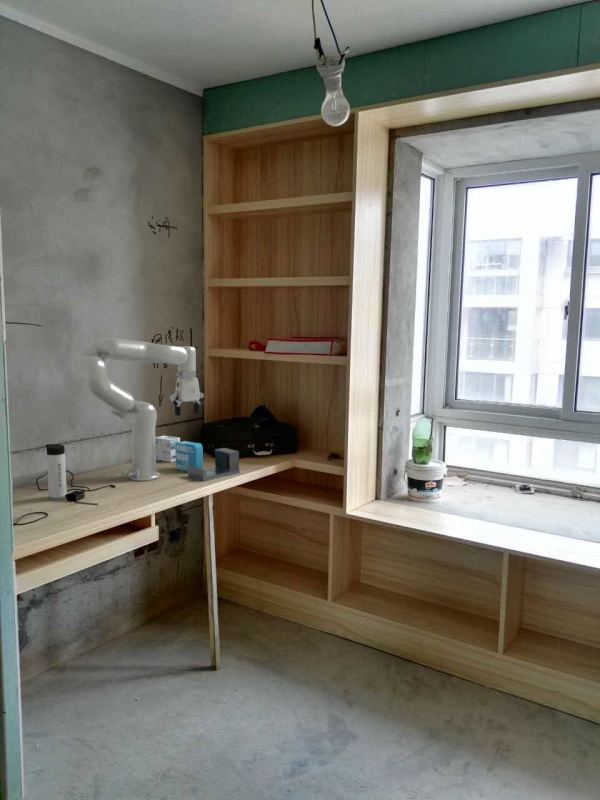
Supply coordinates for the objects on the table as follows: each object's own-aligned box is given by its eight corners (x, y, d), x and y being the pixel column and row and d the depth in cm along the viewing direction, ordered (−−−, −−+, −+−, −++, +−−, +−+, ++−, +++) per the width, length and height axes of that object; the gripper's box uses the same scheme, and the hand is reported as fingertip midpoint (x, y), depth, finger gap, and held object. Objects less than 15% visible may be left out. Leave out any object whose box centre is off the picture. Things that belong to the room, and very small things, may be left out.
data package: (175, 469, 278) (174, 442, 276) (182, 467, 282) (182, 440, 280) (196, 472, 272) (195, 445, 270) (203, 470, 275) (202, 443, 274)
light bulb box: (181, 460, 296) (180, 437, 294) (171, 462, 290) (170, 439, 288) (164, 457, 301) (163, 435, 300) (154, 459, 296) (153, 437, 294)
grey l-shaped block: (203, 481, 258) (203, 458, 256) (187, 476, 265) (187, 454, 264) (239, 473, 271) (239, 451, 270) (223, 468, 279) (223, 447, 277)
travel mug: (51, 495, 236) (48, 442, 233) (69, 495, 236) (66, 442, 234) (45, 500, 230) (42, 446, 227) (63, 500, 230) (61, 446, 228)
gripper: (175, 376, 264) (175, 417, 266) (208, 374, 276) (208, 413, 278) (165, 375, 269) (165, 415, 271) (198, 373, 281) (198, 411, 283)
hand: (187, 414), depth 275 cm, fingers open, 9 cm apart
